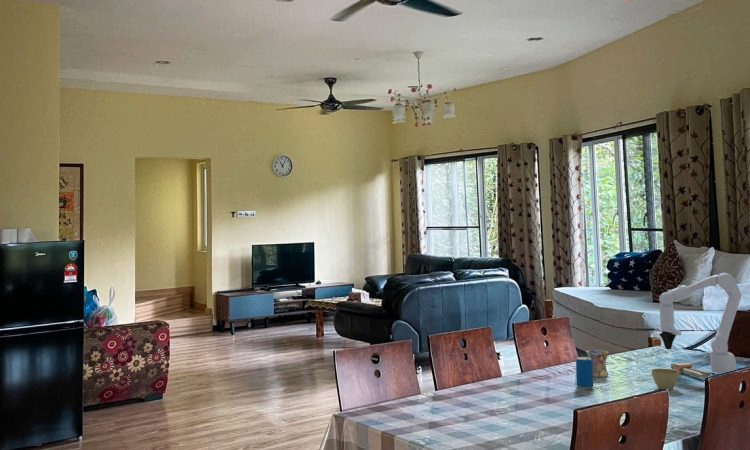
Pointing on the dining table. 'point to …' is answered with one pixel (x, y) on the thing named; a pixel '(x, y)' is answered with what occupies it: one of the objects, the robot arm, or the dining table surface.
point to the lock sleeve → (677, 366)
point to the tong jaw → (692, 373)
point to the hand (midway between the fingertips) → (668, 349)
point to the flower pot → (665, 378)
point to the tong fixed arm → (693, 370)
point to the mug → (598, 362)
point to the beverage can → (584, 372)
